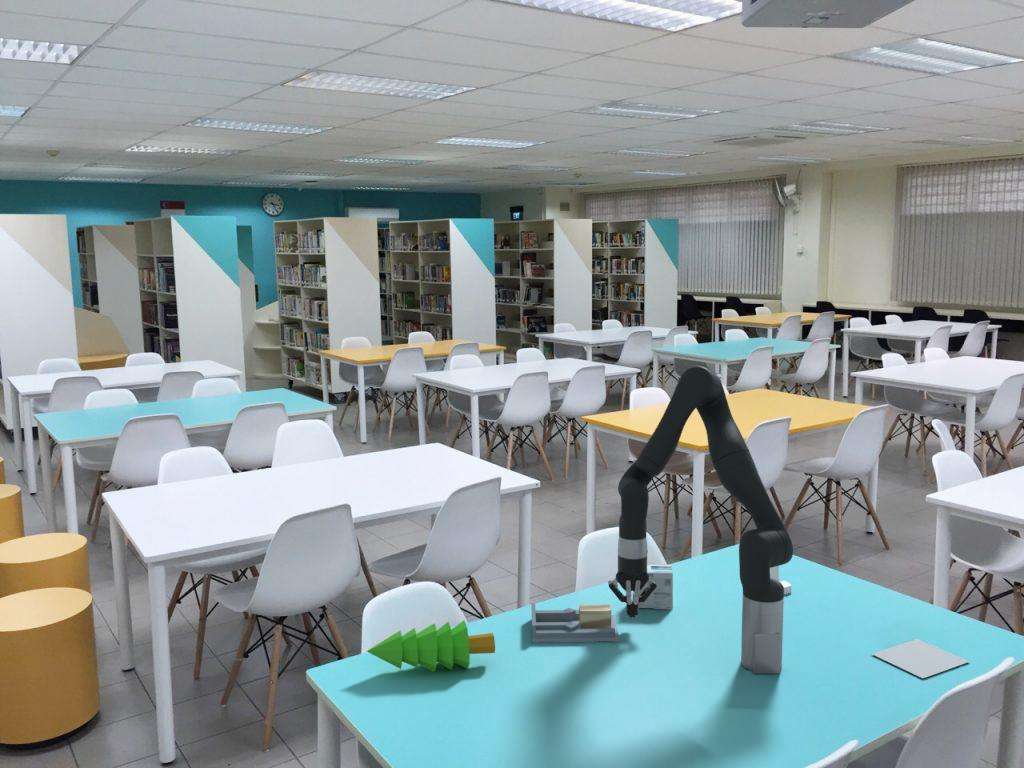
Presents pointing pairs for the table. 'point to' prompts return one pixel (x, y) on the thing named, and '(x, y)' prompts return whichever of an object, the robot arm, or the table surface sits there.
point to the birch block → (594, 616)
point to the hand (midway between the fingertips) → (632, 616)
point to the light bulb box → (659, 588)
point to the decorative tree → (434, 647)
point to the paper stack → (920, 658)
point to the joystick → (775, 575)
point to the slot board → (567, 627)
